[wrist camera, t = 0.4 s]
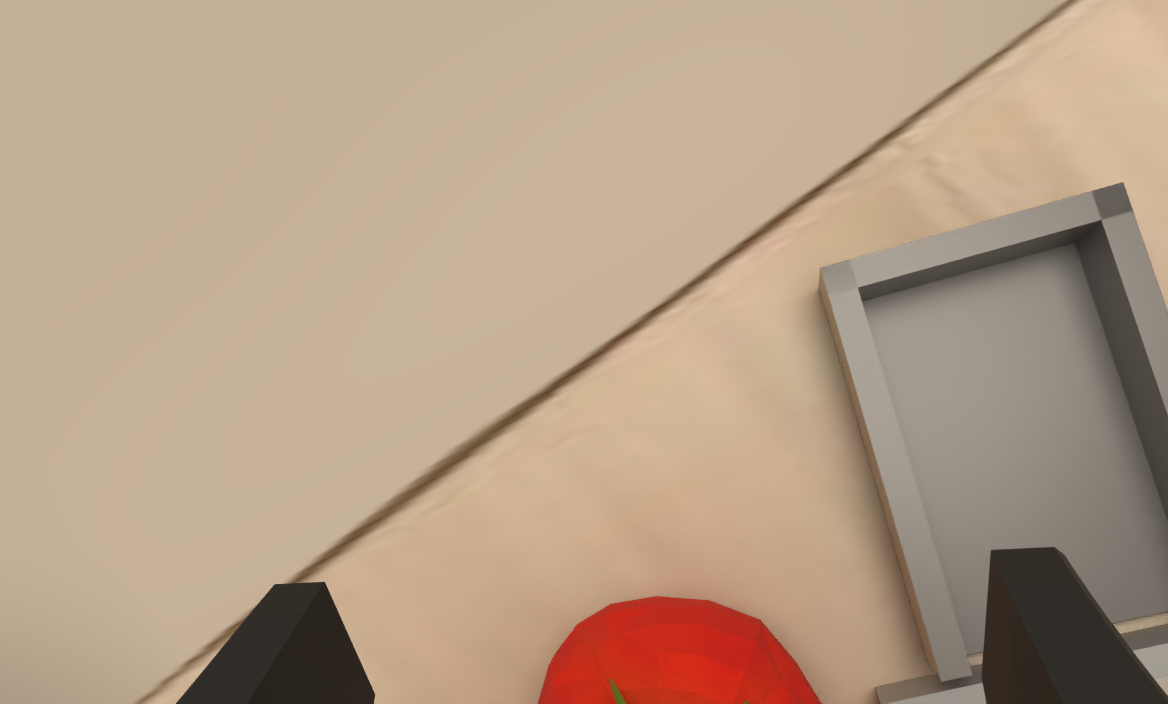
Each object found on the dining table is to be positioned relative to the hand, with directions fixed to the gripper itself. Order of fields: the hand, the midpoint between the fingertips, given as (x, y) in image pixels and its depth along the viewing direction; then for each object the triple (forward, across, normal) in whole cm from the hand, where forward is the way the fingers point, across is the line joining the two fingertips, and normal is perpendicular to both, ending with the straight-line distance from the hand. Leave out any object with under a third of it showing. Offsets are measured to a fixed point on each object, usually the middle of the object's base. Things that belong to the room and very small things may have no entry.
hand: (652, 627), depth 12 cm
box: (+23, -10, +18) cm, 30 cm away
